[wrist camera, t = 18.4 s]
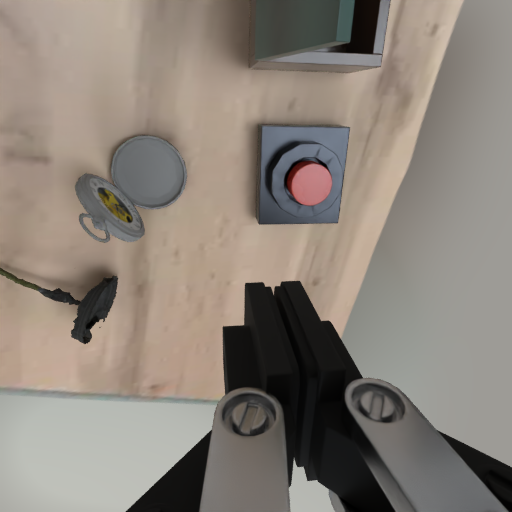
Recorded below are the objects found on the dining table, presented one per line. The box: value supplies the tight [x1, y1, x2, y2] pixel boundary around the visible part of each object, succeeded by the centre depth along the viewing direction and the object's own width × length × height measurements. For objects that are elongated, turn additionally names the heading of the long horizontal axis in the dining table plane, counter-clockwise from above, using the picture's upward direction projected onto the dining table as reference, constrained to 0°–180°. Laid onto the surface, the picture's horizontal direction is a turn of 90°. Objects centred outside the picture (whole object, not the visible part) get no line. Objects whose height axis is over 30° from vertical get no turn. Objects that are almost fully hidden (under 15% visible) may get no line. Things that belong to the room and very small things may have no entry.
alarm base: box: [256, 124, 350, 224], centre depth 33 cm, size 9×8×4 cm
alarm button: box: [287, 161, 332, 206], centre depth 31 cm, size 4×4×2 cm
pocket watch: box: [75, 135, 187, 243], centre depth 28 cm, size 8×8×10 cm
